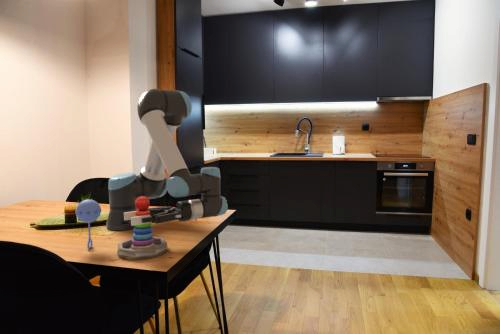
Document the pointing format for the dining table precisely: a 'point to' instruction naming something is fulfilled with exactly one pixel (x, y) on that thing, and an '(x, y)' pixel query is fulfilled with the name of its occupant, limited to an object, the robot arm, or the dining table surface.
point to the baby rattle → (88, 214)
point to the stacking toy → (142, 227)
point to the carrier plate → (142, 250)
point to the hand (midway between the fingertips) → (127, 218)
